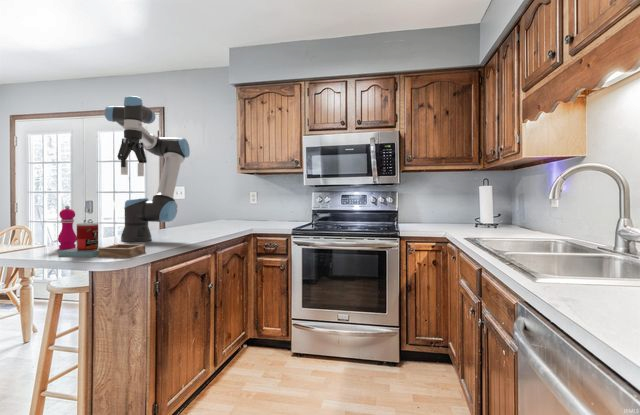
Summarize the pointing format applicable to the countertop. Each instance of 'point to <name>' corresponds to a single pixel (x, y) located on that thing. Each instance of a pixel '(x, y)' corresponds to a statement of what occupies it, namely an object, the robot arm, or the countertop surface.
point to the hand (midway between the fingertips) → (132, 175)
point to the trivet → (79, 253)
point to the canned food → (87, 236)
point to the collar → (121, 250)
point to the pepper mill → (67, 229)
